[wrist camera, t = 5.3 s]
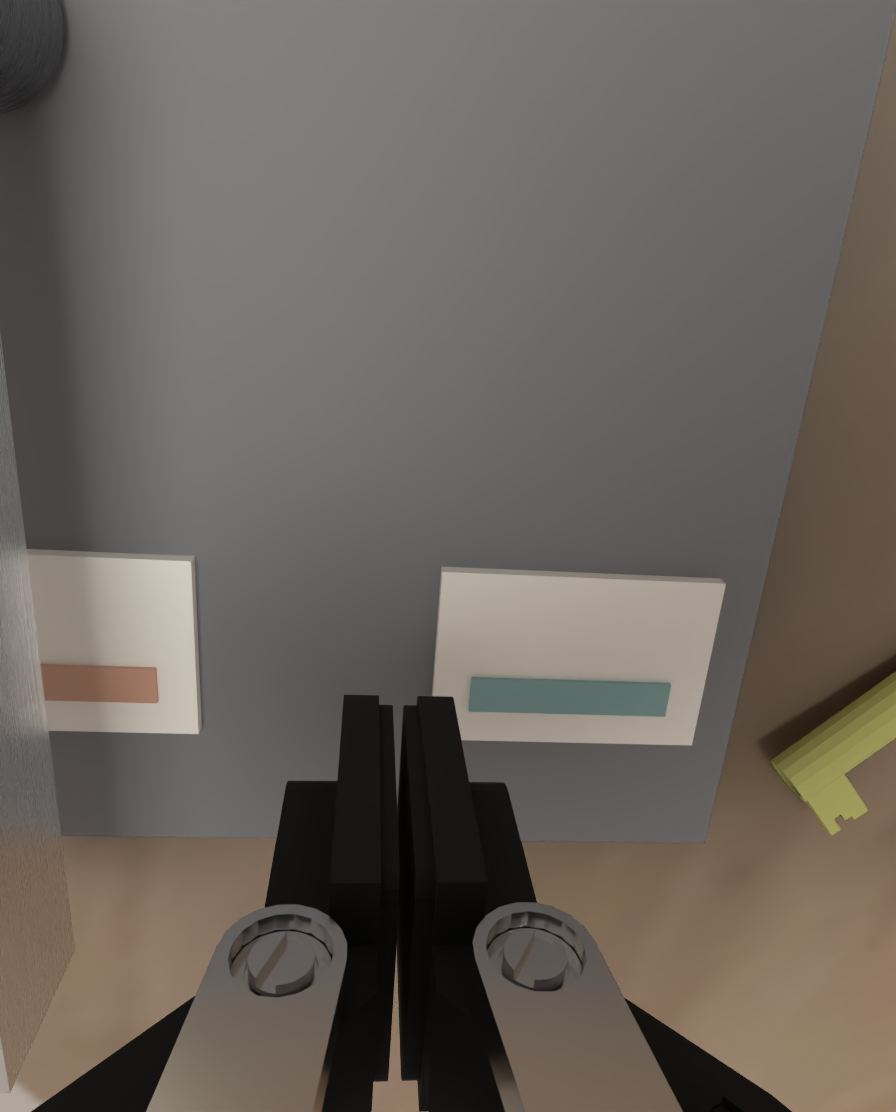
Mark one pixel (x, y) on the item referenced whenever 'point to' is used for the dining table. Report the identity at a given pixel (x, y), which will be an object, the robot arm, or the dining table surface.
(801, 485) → the dining table surface
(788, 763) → the key
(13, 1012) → the swing arm
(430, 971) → the robot arm
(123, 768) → the label panel
